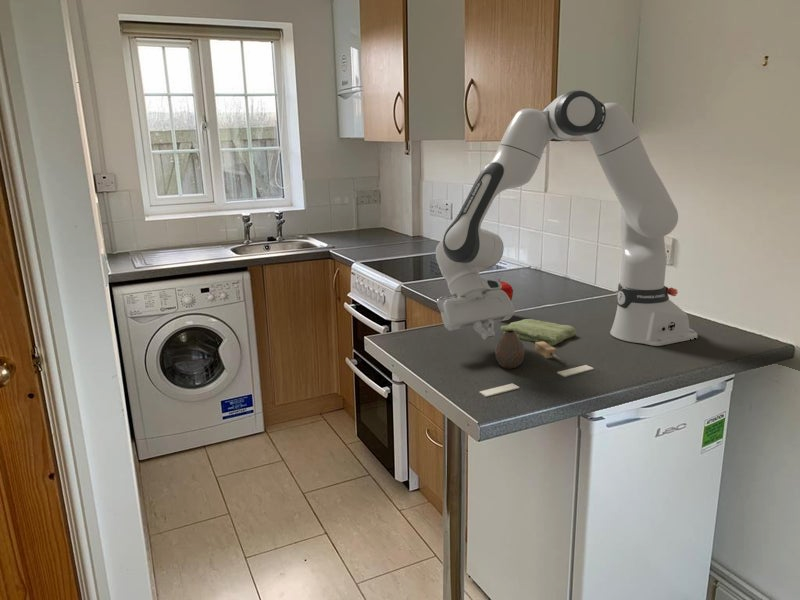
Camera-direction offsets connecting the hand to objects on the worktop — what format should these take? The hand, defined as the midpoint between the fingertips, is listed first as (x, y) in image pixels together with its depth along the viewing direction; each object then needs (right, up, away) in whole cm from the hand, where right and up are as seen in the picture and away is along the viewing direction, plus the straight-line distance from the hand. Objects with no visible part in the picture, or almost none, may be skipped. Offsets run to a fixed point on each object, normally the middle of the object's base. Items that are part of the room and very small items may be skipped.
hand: (489, 338), depth 154 cm
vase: (+4, -7, -6) cm, 9 cm away
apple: (+8, +5, +34) cm, 36 cm away
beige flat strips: (+9, -9, -15) cm, 20 cm away
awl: (+15, -5, -1) cm, 16 cm away
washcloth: (+16, -1, +16) cm, 23 cm away
